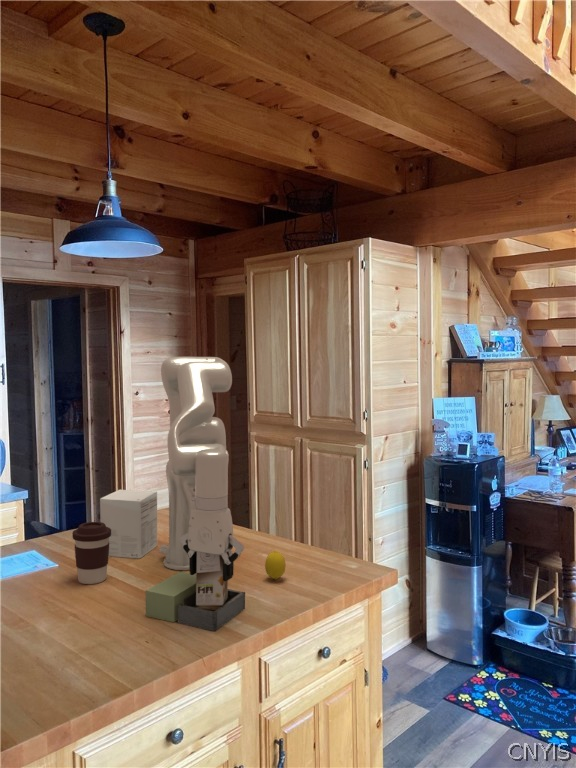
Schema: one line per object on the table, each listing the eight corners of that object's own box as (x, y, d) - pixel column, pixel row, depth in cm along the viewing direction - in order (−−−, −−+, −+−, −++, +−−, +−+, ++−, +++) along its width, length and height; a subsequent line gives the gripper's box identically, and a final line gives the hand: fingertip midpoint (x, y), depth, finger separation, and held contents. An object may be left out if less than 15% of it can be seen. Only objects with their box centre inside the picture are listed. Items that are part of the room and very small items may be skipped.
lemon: (283, 584, 166) (283, 554, 165) (262, 582, 167) (263, 553, 166) (287, 577, 171) (287, 548, 171) (267, 575, 172) (267, 546, 172)
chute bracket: (178, 622, 142) (178, 605, 141) (210, 601, 154) (210, 585, 154) (215, 631, 137) (215, 613, 137) (245, 608, 150) (245, 592, 150)
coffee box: (223, 605, 141) (223, 533, 144) (195, 606, 141) (196, 533, 144) (228, 598, 150) (228, 530, 153) (201, 598, 150) (202, 530, 153)
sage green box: (145, 615, 145) (145, 590, 145) (180, 594, 158) (180, 571, 158) (175, 622, 142) (175, 596, 141) (208, 600, 154) (208, 576, 154)
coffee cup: (119, 576, 170) (119, 522, 169) (93, 589, 161) (93, 532, 160) (91, 571, 174) (90, 518, 173) (64, 582, 165) (64, 527, 164)
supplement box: (158, 545, 197) (158, 491, 196) (140, 559, 184) (140, 500, 183) (119, 542, 200) (119, 488, 199) (99, 555, 187) (98, 498, 186)
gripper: (170, 502, 145) (170, 575, 146) (236, 510, 137) (235, 588, 138) (189, 495, 152) (189, 565, 152) (252, 503, 144) (251, 577, 145)
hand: (211, 576), depth 145 cm, fingers open, 8 cm apart
